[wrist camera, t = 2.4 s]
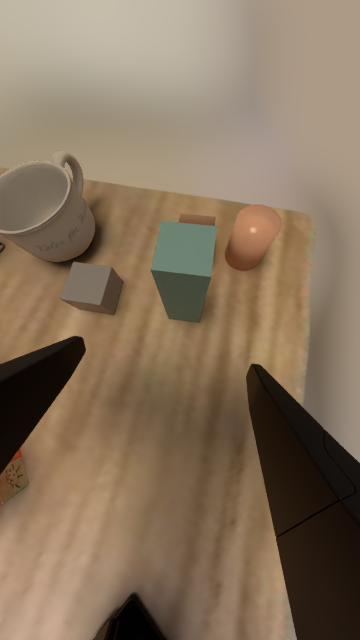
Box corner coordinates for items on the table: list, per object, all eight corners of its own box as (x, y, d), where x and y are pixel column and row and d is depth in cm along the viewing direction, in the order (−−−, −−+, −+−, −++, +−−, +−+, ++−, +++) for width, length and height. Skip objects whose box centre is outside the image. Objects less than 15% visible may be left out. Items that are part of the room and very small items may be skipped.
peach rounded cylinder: (266, 254, 25) (290, 220, 19) (245, 277, 24) (263, 248, 18) (239, 235, 26) (254, 197, 20) (217, 256, 25) (227, 223, 19)
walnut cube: (207, 268, 25) (211, 247, 20) (176, 264, 25) (174, 243, 21) (210, 242, 26) (215, 216, 22) (181, 238, 26) (180, 213, 22)
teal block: (198, 322, 23) (210, 276, 11) (168, 318, 23) (150, 269, 11) (202, 294, 24) (217, 226, 12) (173, 291, 24) (161, 220, 12)
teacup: (72, 284, 25) (20, 247, 17) (21, 251, 27) (-46, 204, 19) (129, 217, 28) (107, 159, 20) (79, 191, 30) (42, 129, 22)
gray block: (114, 315, 24) (100, 305, 20) (80, 309, 24) (59, 298, 20) (123, 282, 25) (111, 266, 21) (90, 277, 25) (73, 261, 21)
